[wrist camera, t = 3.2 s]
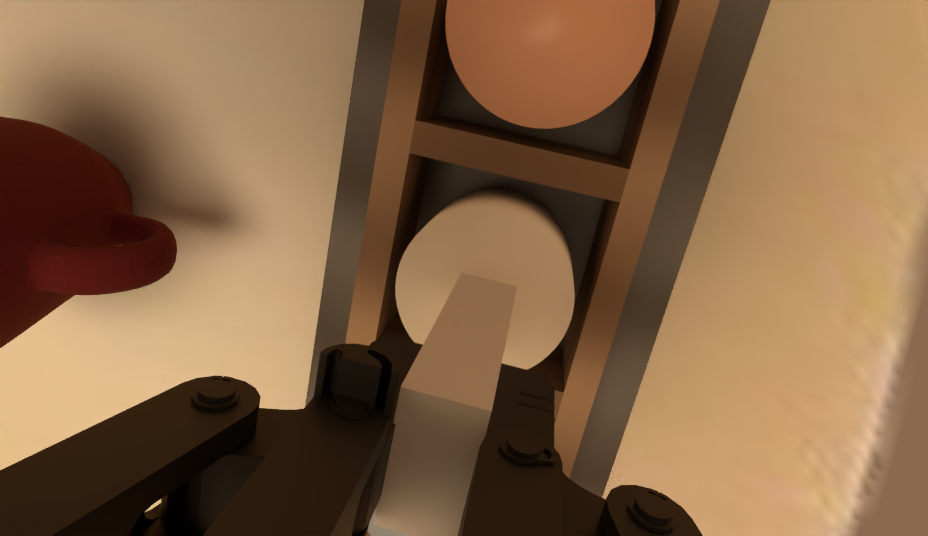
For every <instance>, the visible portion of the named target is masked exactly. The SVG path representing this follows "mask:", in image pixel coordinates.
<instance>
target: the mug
mask: <svg viewBox="0 0 928 536" xmlns="http://www.w3.org/2000/svg"><path fill="white" fill-rule="evenodd" d="M120 245H122V246H120ZM176 254H177V245H176V240H175V237H174V234H173V233H172V231H171V230H170V229H169V228H168V227H167V226H166V225H165V224H163V223H161V222H158V221H156V220H152V219H149V218H145V217H140V216H135V215H132V199H131V194H130V191H129V188H128V185H127V183H126V181H125V179H124V177H123V176H122V174H121V173H120V172H119V170H118V169H117V168H116V167H115V166H114V165H113V164H112V163H111V162H110V161H109V160H108V159H107V158H105V157H104V156H102V155H101V154H99V153H97V152H96V151H94V150H92V149H91V148H89V147H88V146H86V145H84V144H83V143H81V142H79V141H77V140H76V139H74V138H72V137H70V136H68V135H66V134H64V133H62V132H60V131H57V130H55V129H52V128H50V127H47V126H44V125H41V124H37V123H33V122H29V121H24V120H19V119H12V118H5V117H0V348H1V347H3V346H4V345H6V344H7V343H9V342H10V341H11V340H13V339H14V338H16V337H17V336H18V335H20V334H21V333H23V332H24V331H25V330H27V329H28V328H30V327H31V326H32V325H34V324H35V323H37V322H38V321H39V320H41V319H42V318H43V317H45V316H46V315H48V314H49V313H50V312H52V311H53V310H55V309H56V308H57V307H59V306H60V305H61V304H63V303H64V302H66V301H67V300H68V299H70V298H71V297H73V296H74V295H99V294H110V293H117V292H123V291H128V290H133V289H137V288H140V287H143V286H146V285H149V284H152V283H154V282H156V281H158V280H159V279H161V278H162V277H164V276H165V275H166V274H168V273H169V272H170V270H171V269H172V267H173V265H174V263H175V260H176Z"/></svg>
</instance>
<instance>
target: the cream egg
mask: <svg viewBox="0 0 928 536" xmlns="http://www.w3.org/2000/svg"><path fill="white" fill-rule="evenodd" d="M461 273H465V274H469V275H473V276H477V277H481V278H485V279H489V280H493V281H497V282H501V283H505V284H509V285H513V286H517V290H516V295H515V300H514V305H513V309H512V314H511V319H510V324H509V329H508V334H507V339H506V344H505V349H504V354H503V358H502V364H506V365H510V366H514V367H518V368H522V369H526V370H527V369H530V368H531V367H533V366H535V365H536V364H538V363H540V362H541V361H542V360H543V359H545V358H546V357H547V356H548V355H549V354H550V353H551V352H552V351H553V350H554V349H555V348H556V347H557V346H558V344H559V343H560V341H561V340H562V339H563V337H564V335H565V333H566V331H567V329H568V327H569V324H570V321H571V319H572V314H573V309H574V299H575V293H574V281H573V270H572V259H571V252H570V247H569V244H568V241H567V238H566V235H565V233H564V232H563V230H562V228H561V226H560V225H559V223H558V222H557V220H556V219H555V218H554V217H553V216H552V214H551V213H550V212H549V211H548V210H547V209H545V208H544V207H543V206H542V205H541V204H539V203H538V202H536V201H534V200H533V199H531V198H529V197H527V196H525V195H522V194H520V193H516V192H513V191H508V190H502V189H485V190H478V191H474V192H470V193H467V194H464V195H462V196H460V197H458V198H456V199H454V200H452V201H451V202H449V203H448V204H447V205H445V206H444V207H443V208H442V209H441V210H440V211H439V212H438V213H437V214H436V215H435V216H434V217H433V218H432V219H431V220H430V221H429V222H428V223H427V224H426V225H425V226H424V228H423V229H422V230H421V231H420V232H419V233H418V234H417V235H416V236H415V237H414V239H413V240H412V241H411V243H410V244H409V245H408V247H407V249H406V250H405V252H404V254H403V256H402V259H401V261H400V264H399V267H398V271H397V275H396V284H395V293H396V303H397V308H398V312H399V315H400V318H401V321H402V323H403V325H404V327H405V329H406V331H407V333H408V334H409V336H410V338H411V339H412V340H413V341H414V342H415V343H419V344H422V345H423V344H424V342H425V340H426V338H427V336H428V335H429V333H430V331H431V329H432V327H433V325H434V323H435V321H436V320H437V318H438V316H439V314H440V312H441V310H442V308H443V306H444V305H445V303H446V301H447V299H448V297H449V295H450V293H451V291H452V290H453V288H454V286H455V284H456V282H457V280H458V278H459V277H460V275H461Z"/></svg>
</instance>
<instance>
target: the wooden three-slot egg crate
mask: <svg viewBox="0 0 928 536" xmlns="http://www.w3.org/2000/svg"><path fill="white" fill-rule="evenodd" d="M769 3H770V0H655V22H654V31H653V35H652V40H651V44H650V47H649V50H648V53H647V56H646V58H645V60H644V62H643V64H642V66H641V68H640V71H639V72H638V74H637V75H636V77H635V78H634V80H633V81H632V83H631V84H630V85H629V87H628V88H627V89H626V90H625V91H624V93H623V94H622V95H621V96H620V97H619V98H618V99H616V100H615V101H614V102H613V103H612V104H611V105H610V106H608V107H607V108H605V109H604V110H603V111H601V112H600V113H598V114H596V115H594V116H592V117H591V118H589V119H587V120H584V121H581V122H579V123H576V124H573V125H569V126H565V127H559V128H550V129H544V128H531V127H524V126H520V125H517V124H514V123H511V122H508V121H506V120H504V119H502V118H500V117H498V116H496V115H495V114H493V113H491V112H490V111H488V110H487V109H486V108H485V107H483V106H482V105H481V104H480V103H479V102H478V101H477V100H476V99H475V98H474V97H473V96H472V95H471V94H470V93H469V91H468V90H467V89H466V87H465V86H464V84H463V83H462V82H461V80H460V78H459V76H458V74H457V72H456V70H455V68H454V65H453V62H452V60H451V57H450V53H449V49H448V45H447V38H446V8H447V0H365V1H364V8H363V15H362V22H361V29H360V36H359V43H358V49H357V56H356V63H355V70H354V77H353V84H352V90H351V97H350V104H349V111H348V118H347V125H346V132H345V138H344V145H343V152H342V159H341V166H340V173H339V179H338V186H337V193H336V200H335V207H334V214H333V221H332V227H331V234H330V241H329V248H328V255H327V262H326V269H325V275H324V282H323V289H322V296H321V303H320V310H319V316H318V323H317V330H316V337H315V344H314V351H313V358H312V364H311V371H310V378H309V385H308V392H307V399H306V405H305V407H306V406H307V404H308V403H309V402H310V401H311V399H312V398H313V397H314V390H315V384H316V378H317V371H318V365H319V358H320V352H321V351H323V350H324V349H326V348H328V347H330V346H334V345H338V344H362V345H368V346H369V345H370V344H371V343H372V342H373V341H376V340H378V339H380V338H383V337H385V336H392V337H395V338H399V339H403V340H407V341H411V342H414V341H413V340H412V339H411V338H410V336H409V334H408V333H407V331H406V329H405V327H404V325H403V323H402V321H401V318H400V315H399V312H398V308H397V303H396V293H395V284H396V275H397V271H398V267H399V264H400V261H401V259H402V256H403V254H404V252H405V250H406V249H407V247H408V245H409V244H410V243H411V241H412V240H413V239H414V237H415V236H416V235H417V234H418V233H419V232H420V231H421V230H422V229H423V228H424V226H425V225H426V224H427V223H428V222H429V221H430V220H431V219H432V218H433V217H434V216H435V215H436V214H437V213H438V212H439V211H440V210H441V209H442V208H443V207H444V206H445V205H447V204H448V203H449V202H451V201H452V200H454V199H456V198H458V197H460V196H462V195H464V194H467V193H470V192H474V191H478V190H485V189H502V190H508V191H513V192H516V193H520V194H522V195H525V196H527V197H529V198H531V199H533V200H534V201H536V202H538V203H539V204H541V205H542V206H543V207H544V208H545V209H547V210H548V211H549V212H550V213H551V214H552V216H553V217H554V218H555V219H556V220H557V222H558V223H559V225H560V226H561V228H562V230H563V232H564V233H565V235H566V238H567V241H568V244H569V247H570V252H571V259H572V270H573V281H574V293H575V299H574V309H573V314H572V319H571V321H570V324H569V327H568V329H567V331H566V333H565V335H564V337H563V339H562V340H561V341H560V343H559V344H558V346H557V347H556V348H555V349H554V350H553V351H552V352H551V353H550V354H549V355H548V356H547V357H546V358H545V359H543V360H542V361H541V362H540V363H538V364H536V365H535V366H533V367H531V368H530V369H527V370H529V371H533V372H537V373H541V374H545V375H546V376H547V378H548V379H549V381H550V382H551V384H552V385H553V387H554V388H555V401H554V404H555V409H554V448H555V450H556V451H557V452H558V453H559V454H560V457H561V461H562V464H563V473H564V474H565V475H566V476H567V477H568V478H569V479H571V480H572V481H573V482H574V483H576V484H577V485H579V486H580V487H582V488H584V489H586V490H587V491H589V492H591V493H593V494H595V495H597V496H599V497H601V498H602V496H603V493H604V490H605V487H606V484H607V481H608V478H609V475H610V472H611V469H612V466H613V463H614V460H615V457H616V454H617V451H618V449H619V446H620V443H621V440H622V437H623V434H624V431H625V428H626V425H627V422H628V419H629V416H630V413H631V410H632V407H633V404H634V401H635V398H636V395H637V393H638V390H639V387H640V384H641V381H642V378H643V375H644V372H645V369H646V366H647V363H648V360H649V357H650V354H651V351H652V348H653V345H654V342H655V339H656V336H657V334H658V331H659V328H660V325H661V322H662V319H663V316H664V313H665V310H666V307H667V304H668V301H669V298H670V295H671V292H672V289H673V286H674V283H675V280H676V278H677V275H678V272H679V269H680V266H681V263H682V260H683V257H684V254H685V251H686V248H687V245H688V242H689V239H690V236H691V233H692V230H693V227H694V224H695V222H696V219H697V216H698V213H699V210H700V207H701V204H702V201H703V198H704V195H705V192H706V189H707V186H708V183H709V180H710V177H711V174H712V171H713V168H714V166H715V163H716V160H717V157H718V154H719V151H720V148H721V145H722V142H723V139H724V136H725V133H726V130H727V127H728V124H729V121H730V118H731V115H732V112H733V110H734V107H735V104H736V101H737V98H738V95H739V92H740V89H741V86H742V83H743V80H744V77H745V74H746V71H747V68H748V65H749V62H750V59H751V56H752V53H753V51H754V48H755V45H756V42H757V39H758V36H759V33H760V30H761V27H762V24H763V21H764V18H765V15H766V12H767V9H768V6H769ZM367 536H371V535H370V534H369V532H367Z"/></svg>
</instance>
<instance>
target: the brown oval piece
mask: <svg viewBox="0 0 928 536" xmlns="http://www.w3.org/2000/svg"><path fill="white" fill-rule="evenodd" d="M654 22H655V0H447V8H446V38H447V45H448V49H449V53H450V57H451V60H452V62H453V65H454V68H455V70H456V72H457V74H458V76H459V78H460V80H461V82H462V83H463V84H464V86H465V87H466V89H467V90H468V91H469V93H470V94H471V95H472V96H473V97H474V98H475V99H476V100H477V101H478V102H479V103H480V104H481V105H482V106H483V107H485V108H486V109H487V110H488V111H490V112H491V113H493V114H495V115H496V116H498V117H500V118H502V119H504V120H506V121H508V122H511V123H514V124H517V125H520V126H524V127H531V128H544V129H550V128H559V127H565V126H569V125H573V124H576V123H579V122H581V121H584V120H587V119H589V118H591V117H592V116H594V115H596V114H598V113H600V112H601V111H603V110H604V109H605V108H607V107H608V106H610V105H611V104H612V103H613V102H614V101H615V100H616V99H618V98H619V97H620V96H621V95H622V94H623V93H624V91H625V90H626V89H627V88H628V87H629V85H630V84H631V83H632V81H633V80H634V78H635V77H636V75H637V74H638V72H639V71H640V68H641V66H642V64H643V62H644V60H645V58H646V56H647V53H648V50H649V47H650V44H651V40H652V35H653V31H654Z"/></svg>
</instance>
